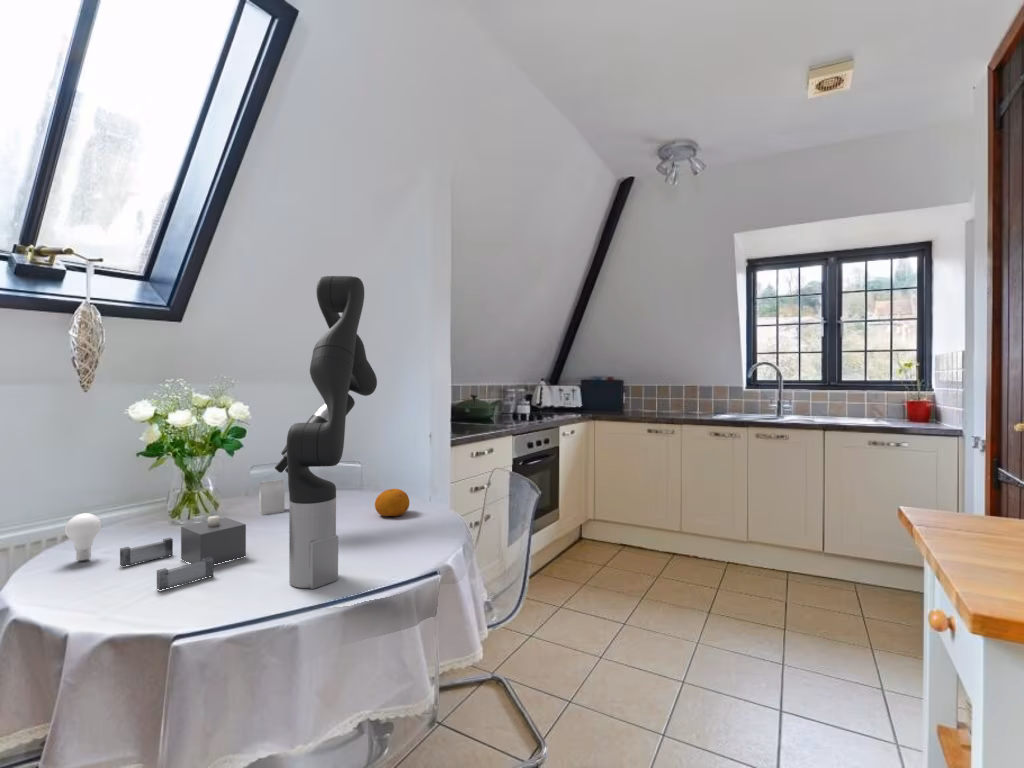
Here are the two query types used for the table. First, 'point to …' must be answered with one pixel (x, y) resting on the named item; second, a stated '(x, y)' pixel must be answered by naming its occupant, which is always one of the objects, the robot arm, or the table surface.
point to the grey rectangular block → (271, 497)
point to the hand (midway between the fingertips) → (283, 471)
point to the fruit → (392, 502)
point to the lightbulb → (83, 533)
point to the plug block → (213, 540)
